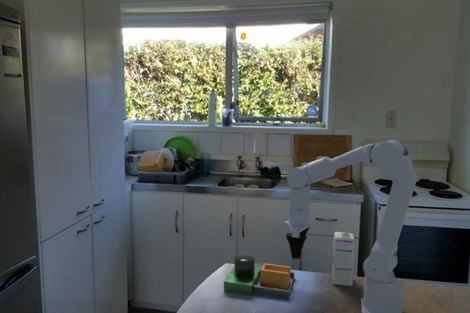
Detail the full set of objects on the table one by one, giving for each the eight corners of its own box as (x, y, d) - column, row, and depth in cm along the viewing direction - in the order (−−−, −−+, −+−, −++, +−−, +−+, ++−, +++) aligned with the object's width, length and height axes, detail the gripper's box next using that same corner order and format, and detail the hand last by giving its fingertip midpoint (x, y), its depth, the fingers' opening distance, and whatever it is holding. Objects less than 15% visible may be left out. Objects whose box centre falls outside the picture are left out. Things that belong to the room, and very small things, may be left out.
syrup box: (352, 286, 112) (355, 238, 110) (332, 284, 113) (334, 237, 111) (351, 278, 117) (353, 232, 115) (331, 276, 118) (333, 230, 116)
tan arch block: (289, 281, 113) (290, 266, 112) (287, 288, 108) (288, 273, 107) (263, 277, 115) (263, 263, 114) (259, 284, 110) (260, 269, 109)
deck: (294, 277, 117) (295, 255, 116) (287, 301, 102) (288, 276, 102) (237, 269, 122) (238, 248, 121) (223, 291, 107) (224, 267, 106)
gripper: (288, 201, 118) (287, 243, 119) (281, 213, 104) (279, 261, 106) (311, 203, 116) (310, 245, 118) (307, 216, 102) (305, 264, 104)
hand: (297, 253), depth 111 cm, fingers open, 7 cm apart
